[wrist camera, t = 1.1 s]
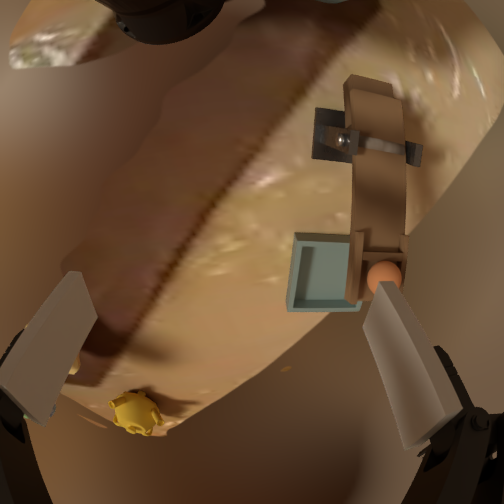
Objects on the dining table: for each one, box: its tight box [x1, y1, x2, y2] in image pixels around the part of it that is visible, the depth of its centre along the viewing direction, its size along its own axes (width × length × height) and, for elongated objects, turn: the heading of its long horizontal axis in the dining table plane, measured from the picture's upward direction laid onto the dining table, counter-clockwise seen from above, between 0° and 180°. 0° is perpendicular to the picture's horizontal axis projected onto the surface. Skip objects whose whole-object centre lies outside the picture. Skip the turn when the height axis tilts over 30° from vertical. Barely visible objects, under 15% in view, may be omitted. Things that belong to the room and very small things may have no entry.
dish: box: [286, 233, 362, 312], centre depth 42 cm, size 13×13×3 cm
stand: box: [311, 108, 423, 167], centre depth 28 cm, size 7×10×12 cm
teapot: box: [108, 391, 164, 436], centre depth 57 cm, size 14×14×11 cm
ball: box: [367, 261, 402, 294], centre depth 24 cm, size 4×4×4 cm
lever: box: [343, 74, 409, 305], centre depth 26 cm, size 24×6×5 cm, turn 178°
